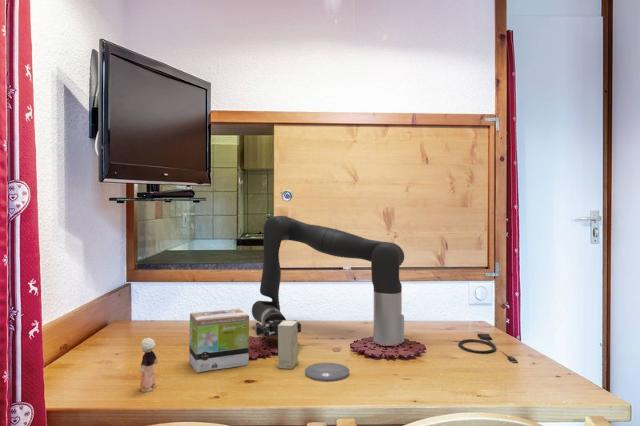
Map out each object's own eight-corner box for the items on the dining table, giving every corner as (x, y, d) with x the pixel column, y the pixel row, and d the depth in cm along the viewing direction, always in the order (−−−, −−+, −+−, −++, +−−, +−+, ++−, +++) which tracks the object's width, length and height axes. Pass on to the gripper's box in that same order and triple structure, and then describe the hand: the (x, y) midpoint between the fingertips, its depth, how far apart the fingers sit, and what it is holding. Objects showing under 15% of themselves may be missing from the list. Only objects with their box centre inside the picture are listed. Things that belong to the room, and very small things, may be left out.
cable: (471, 364, 134) (471, 359, 134) (449, 336, 162) (449, 332, 162) (518, 364, 133) (518, 359, 133) (488, 337, 161) (488, 333, 161)
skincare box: (292, 369, 128) (292, 326, 128) (277, 368, 129) (277, 325, 129) (298, 362, 134) (298, 320, 134) (283, 361, 135) (283, 319, 135)
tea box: (196, 374, 124) (196, 319, 124) (188, 363, 133) (188, 312, 133) (249, 365, 131) (249, 314, 131) (239, 355, 140) (238, 307, 140)
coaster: (341, 363, 133) (341, 361, 133) (355, 378, 121) (355, 375, 121) (300, 367, 130) (300, 364, 129) (311, 383, 118) (311, 380, 118)
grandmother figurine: (144, 383, 118) (144, 334, 118) (159, 383, 118) (159, 334, 118) (135, 395, 110) (134, 343, 110) (151, 395, 110) (151, 342, 110)
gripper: (252, 311, 154) (258, 322, 139) (293, 308, 158) (304, 319, 142) (252, 333, 154) (258, 347, 139) (293, 330, 158) (304, 344, 143)
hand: (281, 333), depth 141 cm, fingers open, 8 cm apart
